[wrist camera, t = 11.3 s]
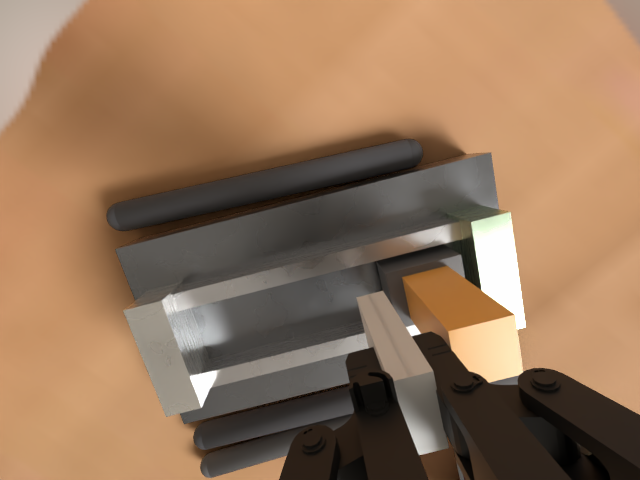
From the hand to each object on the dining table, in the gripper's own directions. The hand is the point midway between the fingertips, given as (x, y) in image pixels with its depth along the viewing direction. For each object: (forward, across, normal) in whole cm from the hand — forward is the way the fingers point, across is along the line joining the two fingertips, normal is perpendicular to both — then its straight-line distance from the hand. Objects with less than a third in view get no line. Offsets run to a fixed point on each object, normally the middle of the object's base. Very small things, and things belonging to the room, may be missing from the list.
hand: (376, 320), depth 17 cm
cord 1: (+8, -4, +7) cm, 11 cm away
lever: (+4, +3, 0) cm, 5 cm away
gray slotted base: (+8, -2, 0) cm, 8 cm away
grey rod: (+8, -2, -9) cm, 12 cm away
